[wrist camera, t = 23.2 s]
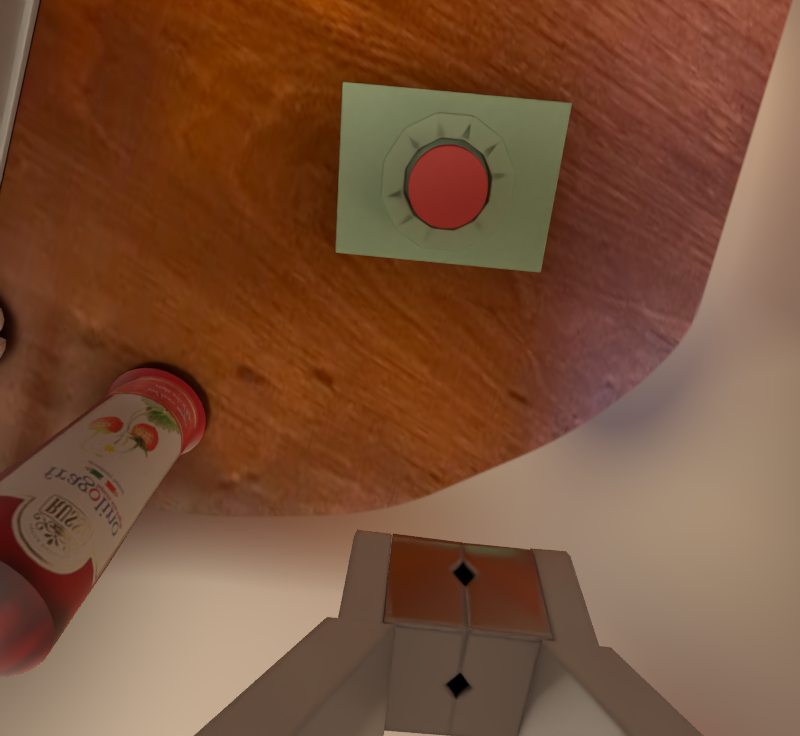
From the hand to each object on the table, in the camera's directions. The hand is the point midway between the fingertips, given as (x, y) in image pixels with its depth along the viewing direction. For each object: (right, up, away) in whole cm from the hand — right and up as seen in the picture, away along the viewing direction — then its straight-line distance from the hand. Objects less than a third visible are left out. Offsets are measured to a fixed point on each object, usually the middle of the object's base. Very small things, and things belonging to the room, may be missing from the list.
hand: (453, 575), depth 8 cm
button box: (+2, +14, +26) cm, 29 cm away
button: (+2, +13, +22) cm, 26 cm away
